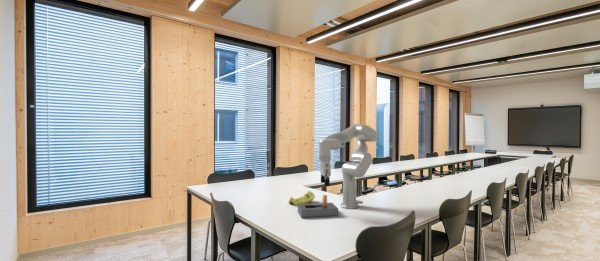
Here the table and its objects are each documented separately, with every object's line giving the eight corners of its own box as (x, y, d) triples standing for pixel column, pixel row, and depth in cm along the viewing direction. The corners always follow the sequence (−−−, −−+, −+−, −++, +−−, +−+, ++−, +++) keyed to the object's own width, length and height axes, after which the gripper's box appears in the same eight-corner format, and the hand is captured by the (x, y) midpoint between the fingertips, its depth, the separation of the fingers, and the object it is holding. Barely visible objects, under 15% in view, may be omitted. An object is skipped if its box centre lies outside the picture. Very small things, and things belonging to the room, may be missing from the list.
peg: (327, 210, 190) (327, 194, 190) (329, 212, 185) (329, 196, 185) (319, 210, 189) (320, 194, 189) (321, 213, 184) (322, 196, 184)
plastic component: (298, 204, 200) (290, 196, 206) (296, 212, 203) (287, 204, 209) (317, 197, 214) (308, 189, 220) (314, 205, 217) (306, 197, 223)
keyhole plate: (331, 209, 195) (331, 202, 195) (338, 216, 181) (338, 208, 181) (297, 211, 191) (297, 204, 191) (301, 218, 177) (301, 210, 177)
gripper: (334, 159, 179) (334, 186, 179) (326, 156, 196) (327, 181, 196) (322, 160, 177) (322, 187, 178) (316, 156, 194) (316, 181, 195)
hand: (325, 184), depth 187 cm, fingers open, 9 cm apart
